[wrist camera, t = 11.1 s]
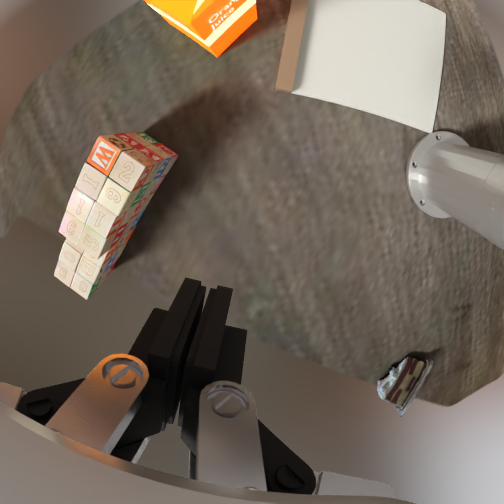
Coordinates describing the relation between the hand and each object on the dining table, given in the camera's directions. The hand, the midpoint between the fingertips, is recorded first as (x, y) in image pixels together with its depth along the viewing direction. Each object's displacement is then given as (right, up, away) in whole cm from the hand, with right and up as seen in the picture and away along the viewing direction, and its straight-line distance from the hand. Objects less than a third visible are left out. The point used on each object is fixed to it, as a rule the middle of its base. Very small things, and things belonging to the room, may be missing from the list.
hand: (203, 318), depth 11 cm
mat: (+18, +29, +21) cm, 40 cm away
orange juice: (-3, +32, +21) cm, 38 cm away
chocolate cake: (+32, -17, +42) cm, 55 cm away
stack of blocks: (-16, +9, +31) cm, 37 cm away
